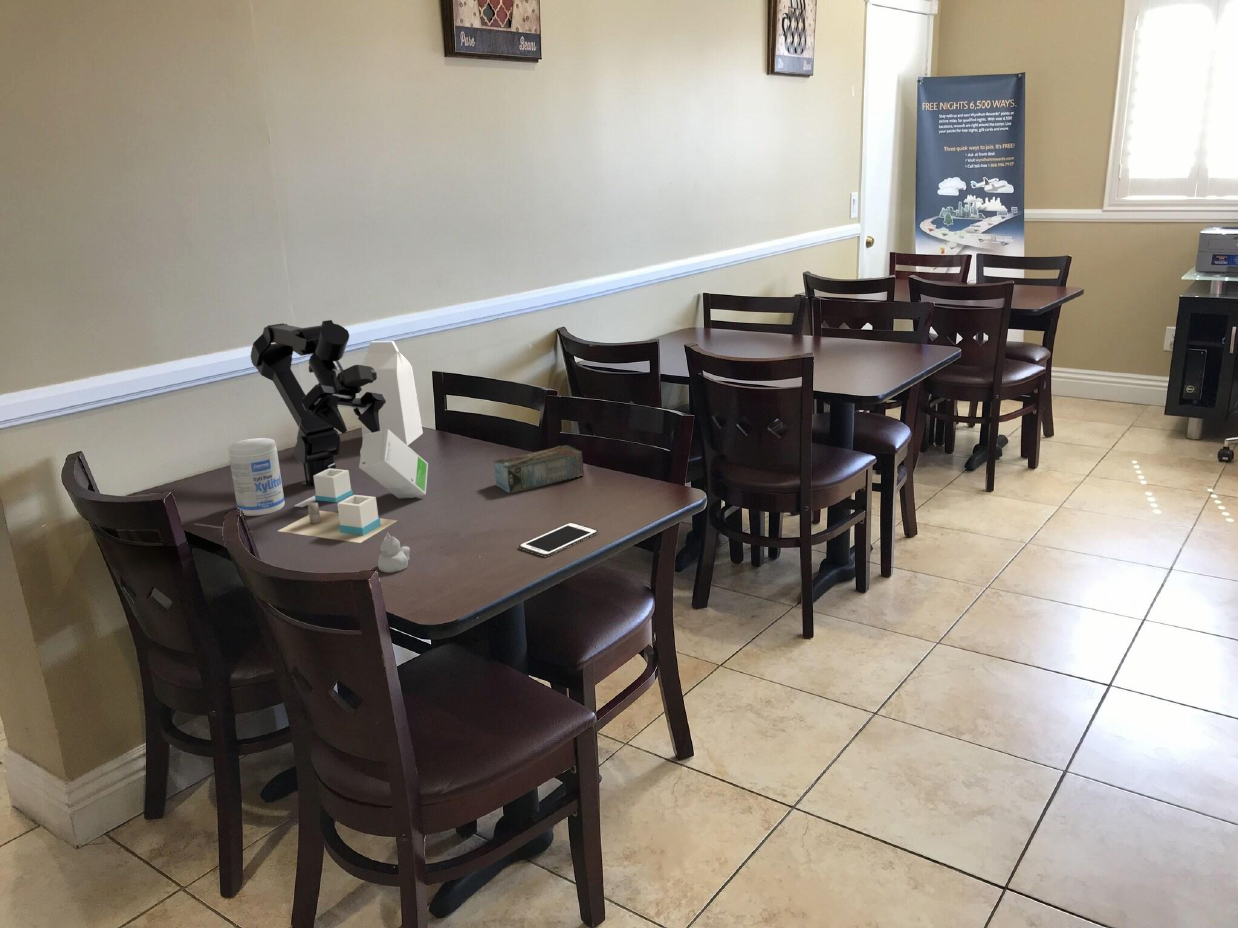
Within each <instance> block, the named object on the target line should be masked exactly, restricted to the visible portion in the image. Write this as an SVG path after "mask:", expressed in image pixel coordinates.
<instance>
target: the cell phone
mask: <svg viewBox="0 0 1238 928" xmlns="http://www.w3.org/2000/svg"><path fill="white" fill-rule="evenodd" d="M597 532H598V533H599V530H598V529H596V528H594V527H593V528H592V527H591V526H586V525H583V524H579V523H576V522H566V523H565V524H563V525H561V526H557V527H555V528H553V529H552V530H549V531H547V532H544V533H543V534H540V535H537V536H535V537H533V538H530V539H529V540H526V541H523V542H521V543H520V544H518V549H519V548H521V549H525V550H527V551H529V552H533V553H535V554H539V555H543V556H548V555H551V554H554V553H555V552H557V551H560V550H561V549H563V548H566V547H568V546H570V545H573V544H574V543H577V542H579V541H581V540H583V539H585V538H587V537H590V536H591V535H594V534H596V533H597ZM529 552H528V553H529ZM560 552H561V551H560ZM535 554H534V555H535ZM554 555H555V554H554Z"/></svg>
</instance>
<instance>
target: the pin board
mask: <svg viewBox="0 0 1238 928" xmlns="http://www.w3.org/2000/svg"><path fill="white" fill-rule="evenodd" d="M307 509H308V510H307V511H308V514H307V515H306V516H304V517H301V518H300V519H298V520H295V521H294V522H292V523H290V524H288V525H286V526H284V527H283V528H280V529H278V530H277V532H279V533H285V534H295V535H301V536H308V537H314V538H323V539H329V540H338V541H342V542H343V541H344V542H351V543H358V544H361V543H363V542H364V541H366V540H368V539H369V538H371V537H373V536H375V535H376V534H378V533H379V532H382V531H383V530H384V529H387V528H389V527H390V526H392V525H393V524H394V523H397V521H398V520H396V519H390V518H389V519H388V518H382V517H381V518H380V517H379V518H380V523H381V525H380V526H379V527H377V528H375V529H374V530H372V531H370V532H369V533H367V534H365V535H364V536H362V535H355V534H348V533H341V532H340V530H339V525H340V519H339V512H333V511H326V510H325V511H324V510H320V507H319V503H318V502H316V501H314V502H312V503H309V504H308V505H307Z"/></svg>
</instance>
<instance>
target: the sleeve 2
mask: <svg viewBox="0 0 1238 928" xmlns="http://www.w3.org/2000/svg"><path fill="white" fill-rule="evenodd" d="M336 503H337V510H338V512H337V513H339V519H340V525H339V530H340V532H341V533H348V534H355V535H362V536H364V535H365V534H367V533H369V532H370V531H372V530H374V529H375V528H377V527H379V526H380V525H381V523H380V517H379V511H378V504H377V497H376V496H369V495H360V494H352V495H350V496H348V497H346V498H344V499H342V500H340V501H339V502H336Z"/></svg>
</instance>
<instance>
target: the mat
mask: <svg viewBox="0 0 1238 928" xmlns="http://www.w3.org/2000/svg"><path fill="white" fill-rule="evenodd" d="M316 501H317V500H315V495H313V496H310V497H309V498H307V499H305V500H302V501H301V502H299V503H297V504H295V505H294V507H299V508H304V507H305V506H308V504H309V503H313V502H316Z"/></svg>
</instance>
